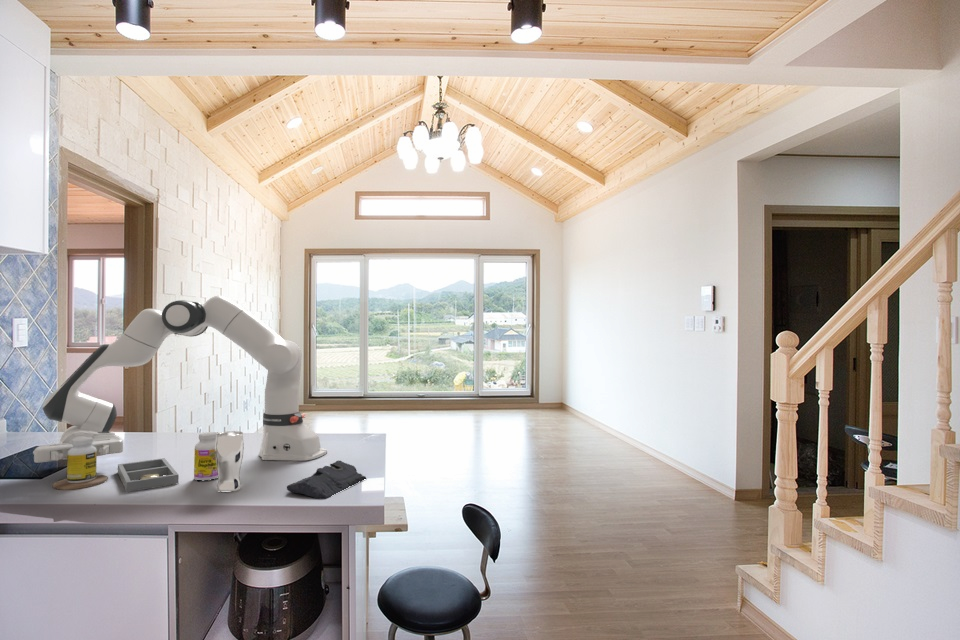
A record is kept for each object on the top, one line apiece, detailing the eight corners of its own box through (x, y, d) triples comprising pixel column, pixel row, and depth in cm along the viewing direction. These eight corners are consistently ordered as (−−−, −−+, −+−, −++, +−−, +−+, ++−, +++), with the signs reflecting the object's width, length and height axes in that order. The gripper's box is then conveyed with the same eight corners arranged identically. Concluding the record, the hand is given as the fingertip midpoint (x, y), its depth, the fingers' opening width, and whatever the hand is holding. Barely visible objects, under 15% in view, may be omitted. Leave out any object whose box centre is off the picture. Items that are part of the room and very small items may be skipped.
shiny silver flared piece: (234, 483, 146) (235, 429, 146) (248, 488, 142) (248, 433, 142) (209, 490, 140) (210, 433, 140) (222, 495, 136) (223, 437, 136)
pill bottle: (80, 484, 142) (80, 441, 142) (60, 483, 143) (61, 440, 143) (102, 478, 148) (102, 436, 148) (83, 476, 149) (83, 435, 149)
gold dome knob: (162, 481, 148) (163, 474, 148) (150, 486, 144) (150, 478, 144) (149, 480, 149) (149, 473, 149) (136, 485, 145) (136, 477, 145)
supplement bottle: (193, 482, 146) (194, 436, 146) (194, 476, 152) (194, 432, 152) (220, 479, 149) (220, 434, 150) (219, 473, 155) (220, 430, 155)
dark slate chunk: (276, 495, 138) (276, 477, 138) (326, 473, 158) (326, 457, 158) (325, 502, 133) (325, 483, 133) (371, 478, 153) (371, 462, 153)
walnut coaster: (117, 478, 150) (117, 476, 150) (76, 491, 138) (76, 489, 138) (84, 475, 152) (84, 473, 152) (41, 487, 141) (41, 485, 141)
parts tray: (117, 472, 156) (117, 464, 156) (164, 466, 163) (164, 458, 163) (126, 492, 138) (126, 482, 138) (178, 483, 145) (178, 474, 145)
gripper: (33, 439, 149) (32, 448, 138) (120, 431, 162) (125, 438, 151) (33, 462, 149) (31, 472, 138) (120, 451, 162) (125, 460, 151)
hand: (81, 454), depth 145 cm, fingers open, 8 cm apart
